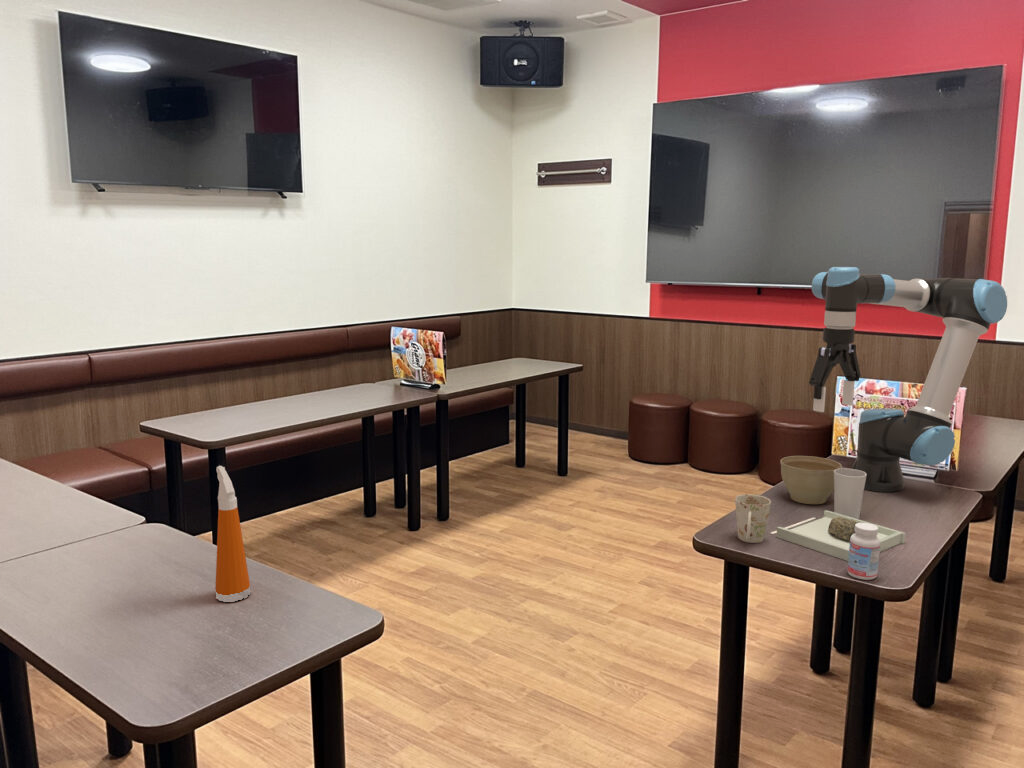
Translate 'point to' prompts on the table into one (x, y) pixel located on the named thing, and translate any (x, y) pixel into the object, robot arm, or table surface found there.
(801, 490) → the planter bowl
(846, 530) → the rock
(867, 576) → the pill bottle
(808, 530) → the white square tray
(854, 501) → the cup
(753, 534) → the mug
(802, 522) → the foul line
